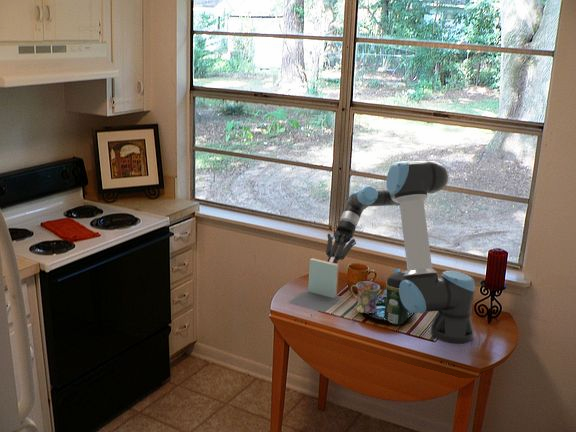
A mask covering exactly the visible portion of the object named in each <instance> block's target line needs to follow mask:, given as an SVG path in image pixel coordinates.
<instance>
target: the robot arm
mask: <svg viewBox="0 0 576 432" xmlns="http://www.w3.org/2000/svg"><path fill="white" fill-rule="evenodd" d="M448 174H449V173H448V171H447V169H446V168H445V167H444V166H443V165H442V164H441V163H439V162H437V161H433V160H403V161H396V162H393V163H392V165H390V167H389V170H388V171H387V174H386V175H387V176H386V183H385V184H386V187H377V188H376V187H374V186H372V185H365V186H363V187H361V188H360V189H358V190H353V191H352V192H351V193H350V196H348V200H347V203H346V205H345V207H344V210H343V212H342V215H341V216H340V219H339V222H338V224H337V226H336V229H335V231H334V232H333V233H331V234H330V233H328V234H326V235H327V245H326V251H325V253H326V256H327V257H328V259H327V260H326V261H327V262H331V263H336V264H338V261H343V260H344V259H345V257H346V256H347V255H348V253H349V252H350V251H351V249H353V248H352V247H354V246H355V245H357V242H356V240H355V238H354V234H355V231H356V228H357V227H358V224H359V221H360V219H361V216H362V214H363V212H364V210H366V209H367V208H368V207H383V206H385V207H386V206H387V207H388V206H389V207H390V206H396V207H397V206H399V209H400V219H401V225H402V234H403V235H402V236H403V243H404V245H403V246H404V251H405V252H404V253H405V259H406V269H407V272H406V273H405V275H404V280H403V281H402V282H401V283H400V285H399V286H400V288H399V295H400V299H401V302H402V304H403V306H404V307H405V308H406V309H407V310H408V313H409V312H410V313H413V314H414V313H415V314H416V313H419V314H422V313H423V314H424V313H429V312H437V313H436V315H435V317H434V318H433V320H432V323H431V325H430V333H431V335H432V336H433V337H435V338H436V339H438V340H440V341H444V342H446V343H451V344H465V343H469V342H471V341H472V340H473V339H474V328H473V321H472V311H473V310H472V308H473V301H474V294H475V291H476V290H475V288H476V287H475V286H476V282H475V280H474V278H473V277H471V276H470V275H468V274H466V273H463V272H460V271H456V270H444V271H442V274H441V277H438V271H436V269H434V268H433V264H432V256H431V251H430V248H431V247H430V241H429V240H430V239H429V233H428V225H427V224H428V223H427V216H426V209H425V200H426V199H427V198H428V194H434V193H437V192H440V191H441V190H443V189H444V188H446V186H447V184H448V181H449V175H448ZM333 240H334V244H333Z"/></svg>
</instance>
